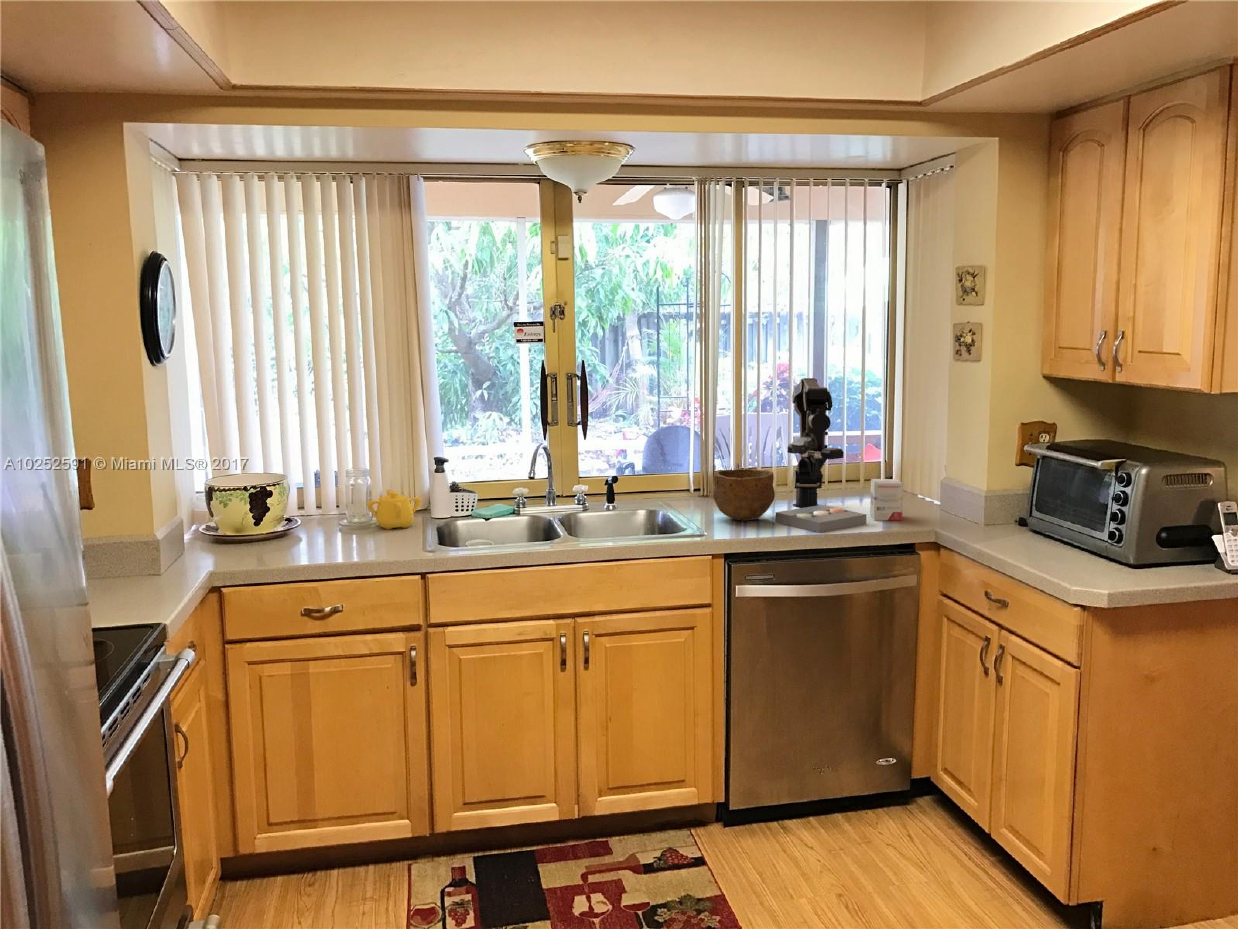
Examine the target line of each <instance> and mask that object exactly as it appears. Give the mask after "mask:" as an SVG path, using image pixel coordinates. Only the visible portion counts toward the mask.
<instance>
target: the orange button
mask: <svg viewBox="0 0 1238 929" xmlns="http://www.w3.org/2000/svg"><path fill="white" fill-rule="evenodd" d="M845 510H846V509H844V508H842V507H841V508H839V507H835V508H831V509H830V512H835V513H841V512H845Z"/></svg>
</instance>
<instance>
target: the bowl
mask: <svg viewBox="0 0 1238 929" xmlns="http://www.w3.org/2000/svg"><path fill="white" fill-rule="evenodd" d="M774 477H775V476H774V471H770V470H766V469H764V470H761V469H756V468H755V469H754V468H736V469H730V470H729V469H724V470H723V469H717V470H716V471H714V472H713V487H712V499H713V501H714V503H715V505H716V507H717V508H718V510H719V512H721V513H722V514H723V515H725V516H726V517H728V518H731V519H733V520H738V521H750V520H751V521H752V520H755V519H758V518H760V517H762V516H763V515H764V514H765V513H766V512H767V511H768V510H769V508H770V507H771V505H772V504H773V502H774V501H775V497H776V494H775V488H774V479H775V478H774Z"/></svg>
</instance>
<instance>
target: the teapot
mask: <svg viewBox="0 0 1238 929" xmlns="http://www.w3.org/2000/svg"><path fill="white" fill-rule="evenodd" d="M412 501H415V504H414V506H413V505H412V504H411V502H412ZM421 503H422V499H421V498H420V497H419V496H418V497H417V496H415V497H410V498H409V497H408V496H406V495H404V494H399V492H398V491H397V492H396V491H394V492H392V491H391V490H390V489H386V495H384V496H380V497H379V500H369V501H367V502H366V506H367V509H368V510H369V511H370V512H371V514H373V515H374V516H375V520H376V522H377V524H378V526H379V527H381V528H385V530H392V529H394V528H401V529H407V528H409V526H410V527H411V526H412V524H413V522H414V516H415V515H414V514H415V512H416V511H417V510H418V508H420V505H421ZM374 504H377V507H376V510H375V509H374V506H373V505H374ZM412 506H413V507H412Z"/></svg>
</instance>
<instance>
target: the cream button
mask: <svg viewBox="0 0 1238 929" xmlns="http://www.w3.org/2000/svg"><path fill="white" fill-rule="evenodd" d="M813 514H815V515H819V516H823V515H828V512H827V511H814V512H813Z"/></svg>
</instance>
